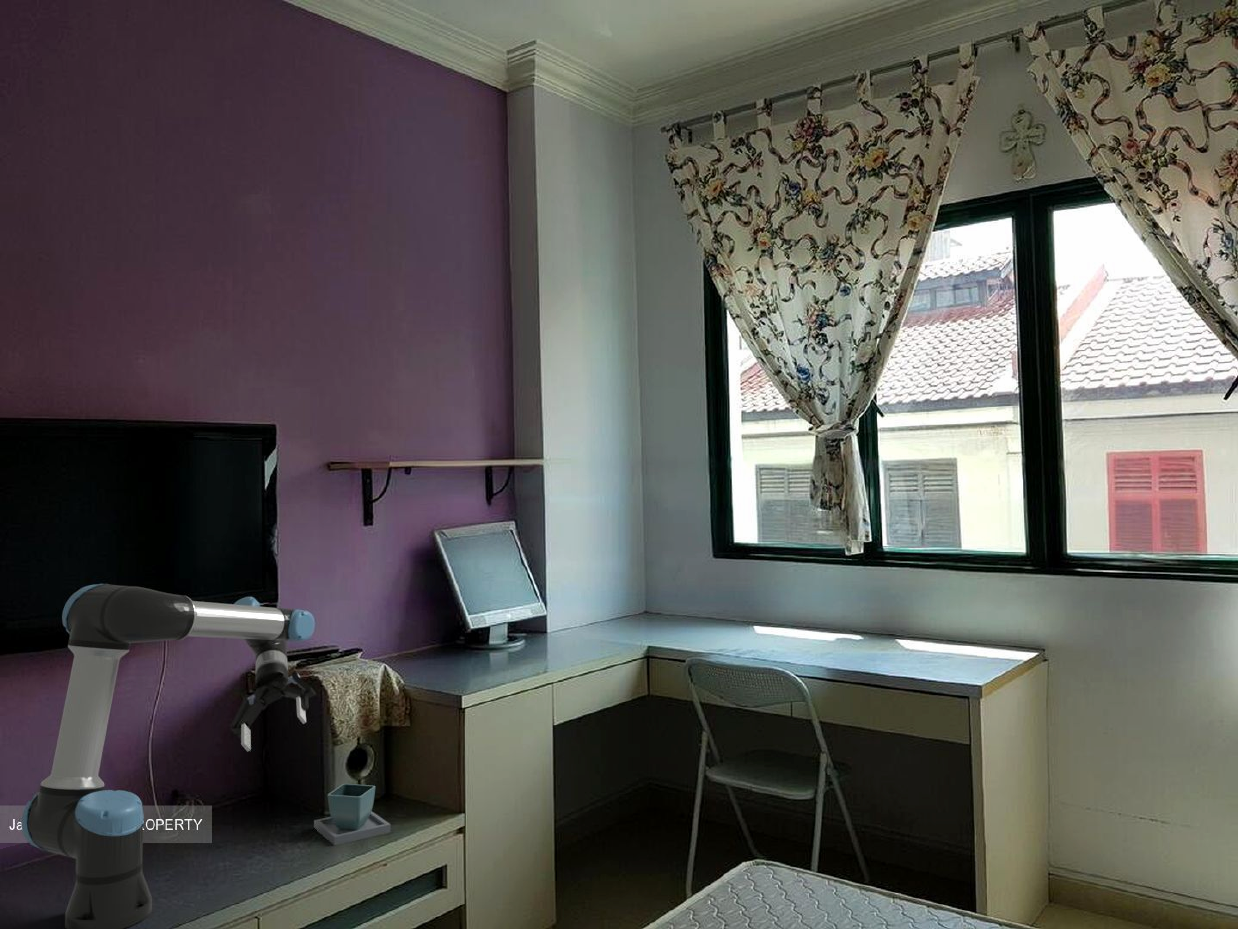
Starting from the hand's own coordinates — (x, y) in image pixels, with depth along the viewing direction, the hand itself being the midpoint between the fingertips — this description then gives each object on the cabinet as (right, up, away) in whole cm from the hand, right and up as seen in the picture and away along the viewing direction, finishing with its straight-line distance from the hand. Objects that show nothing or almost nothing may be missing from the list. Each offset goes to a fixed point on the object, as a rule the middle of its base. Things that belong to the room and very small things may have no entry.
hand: (273, 733), depth 219 cm
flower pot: (+13, -28, +18) cm, 36 cm away
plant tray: (+13, -29, +18) cm, 36 cm away
